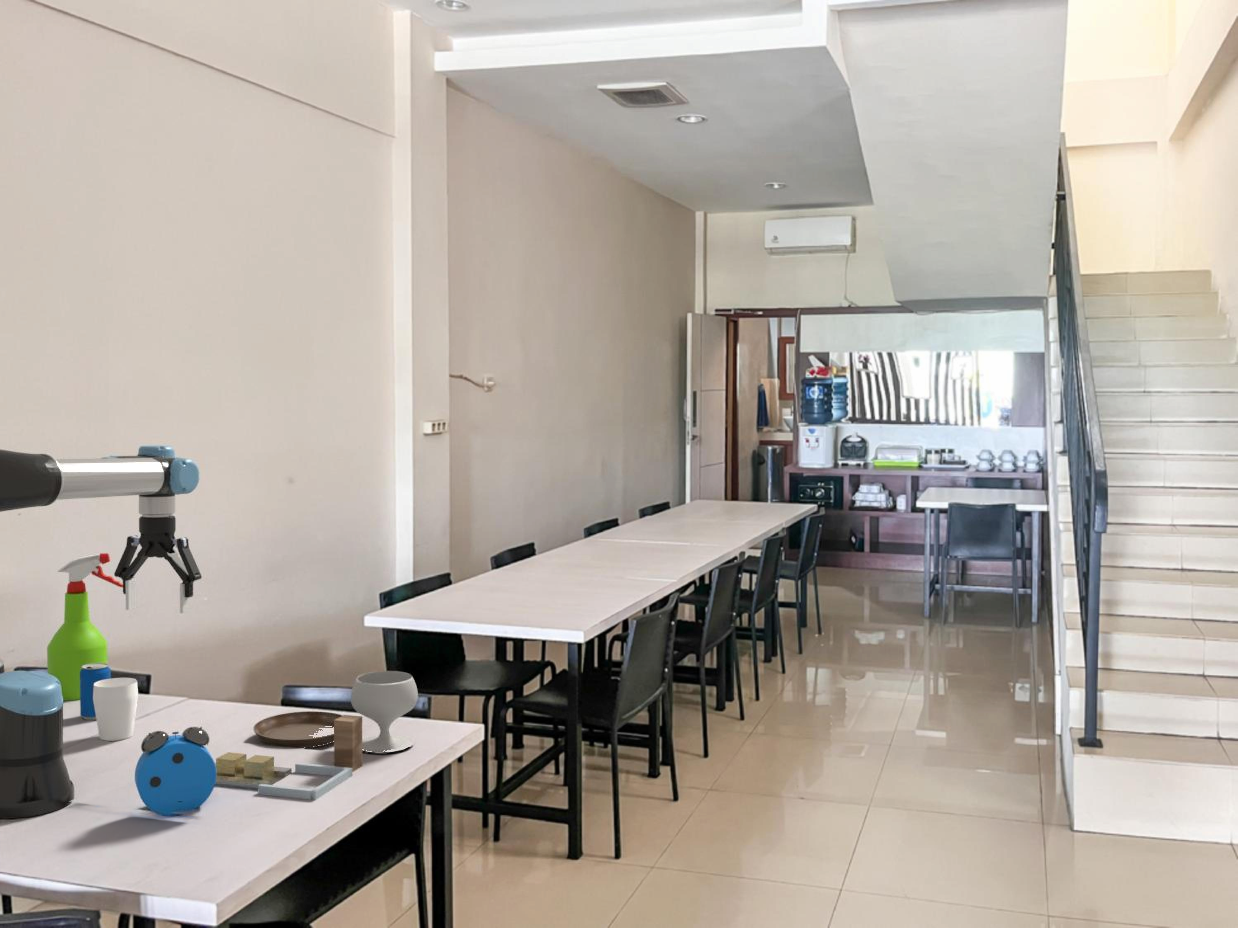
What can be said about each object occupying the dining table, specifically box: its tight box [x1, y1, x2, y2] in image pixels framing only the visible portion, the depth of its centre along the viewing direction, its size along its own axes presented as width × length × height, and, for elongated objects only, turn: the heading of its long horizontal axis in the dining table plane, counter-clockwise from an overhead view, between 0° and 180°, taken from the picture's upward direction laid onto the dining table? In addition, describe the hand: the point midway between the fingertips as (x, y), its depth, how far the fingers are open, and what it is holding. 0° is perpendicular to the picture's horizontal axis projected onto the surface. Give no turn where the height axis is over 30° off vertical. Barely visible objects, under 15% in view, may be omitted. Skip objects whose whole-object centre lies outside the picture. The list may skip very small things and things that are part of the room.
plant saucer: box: [252, 710, 344, 749], centre depth 249 cm, size 21×21×3 cm
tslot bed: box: [214, 762, 293, 791], centre depth 219 cm, size 10×16×2 cm, turn 75°
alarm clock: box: [134, 726, 217, 817], centre depth 203 cm, size 13×6×15 cm, turn 118°
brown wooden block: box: [333, 714, 363, 773], centre depth 225 cm, size 4×4×11 cm
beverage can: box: [79, 663, 112, 721], centre depth 263 cm, size 6×6×12 cm
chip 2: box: [244, 754, 275, 781], centre depth 218 cm, size 4×4×4 cm
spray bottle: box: [46, 552, 123, 701], centre depth 284 cm, size 14×18×35 cm
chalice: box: [350, 670, 419, 752], centre depth 243 cm, size 14×14×15 cm
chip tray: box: [257, 762, 353, 801], centre depth 216 cm, size 14×12×2 cm
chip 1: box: [215, 751, 247, 778], centre depth 219 cm, size 4×4×4 cm
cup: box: [93, 677, 139, 742], centre depth 248 cm, size 9×9×12 cm
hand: (158, 610), depth 253 cm, fingers open, 13 cm apart
